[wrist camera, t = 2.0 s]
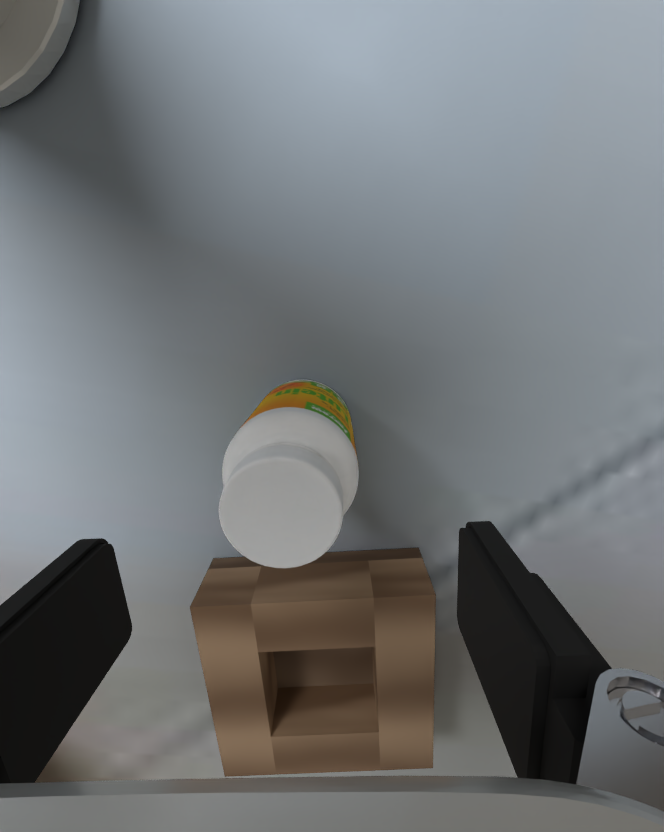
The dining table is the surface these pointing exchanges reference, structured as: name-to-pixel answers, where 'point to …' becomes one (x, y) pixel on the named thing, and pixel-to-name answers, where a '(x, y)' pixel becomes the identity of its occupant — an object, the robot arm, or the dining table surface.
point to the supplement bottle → (289, 476)
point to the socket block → (320, 662)
